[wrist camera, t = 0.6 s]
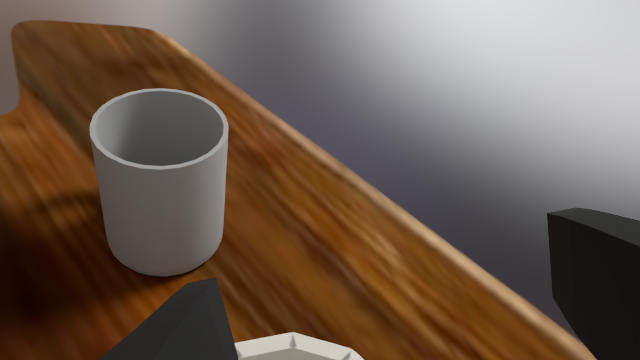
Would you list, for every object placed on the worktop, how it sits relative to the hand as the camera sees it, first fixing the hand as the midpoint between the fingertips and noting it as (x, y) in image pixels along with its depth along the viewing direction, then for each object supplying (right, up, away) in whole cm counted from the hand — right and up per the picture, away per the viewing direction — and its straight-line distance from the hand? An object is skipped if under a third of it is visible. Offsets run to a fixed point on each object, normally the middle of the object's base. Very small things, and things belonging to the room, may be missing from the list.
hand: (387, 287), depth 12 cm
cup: (-12, -1, +24) cm, 27 cm away
